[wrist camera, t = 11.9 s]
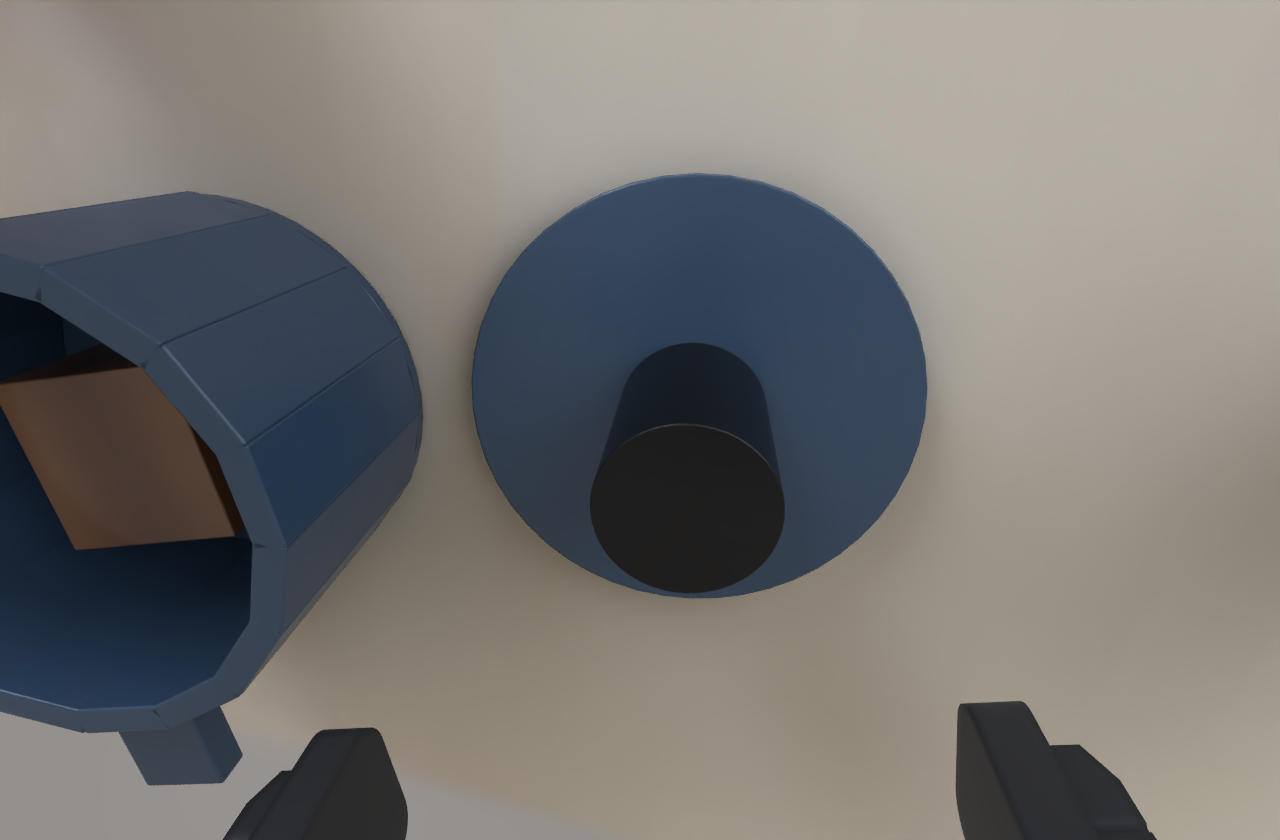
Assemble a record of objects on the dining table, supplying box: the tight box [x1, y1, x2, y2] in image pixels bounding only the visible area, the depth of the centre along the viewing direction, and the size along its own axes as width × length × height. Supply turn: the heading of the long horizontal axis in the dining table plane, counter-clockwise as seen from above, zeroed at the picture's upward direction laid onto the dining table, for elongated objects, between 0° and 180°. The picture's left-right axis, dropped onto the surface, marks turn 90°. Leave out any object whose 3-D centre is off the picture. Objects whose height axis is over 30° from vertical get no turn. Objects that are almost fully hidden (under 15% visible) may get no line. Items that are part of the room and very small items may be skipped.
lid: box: [472, 173, 927, 598], centre depth 19 cm, size 14×14×7 cm
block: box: [0, 343, 245, 550], centre depth 21 cm, size 5×5×5 cm
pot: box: [0, 191, 423, 785], centre depth 20 cm, size 13×18×8 cm
